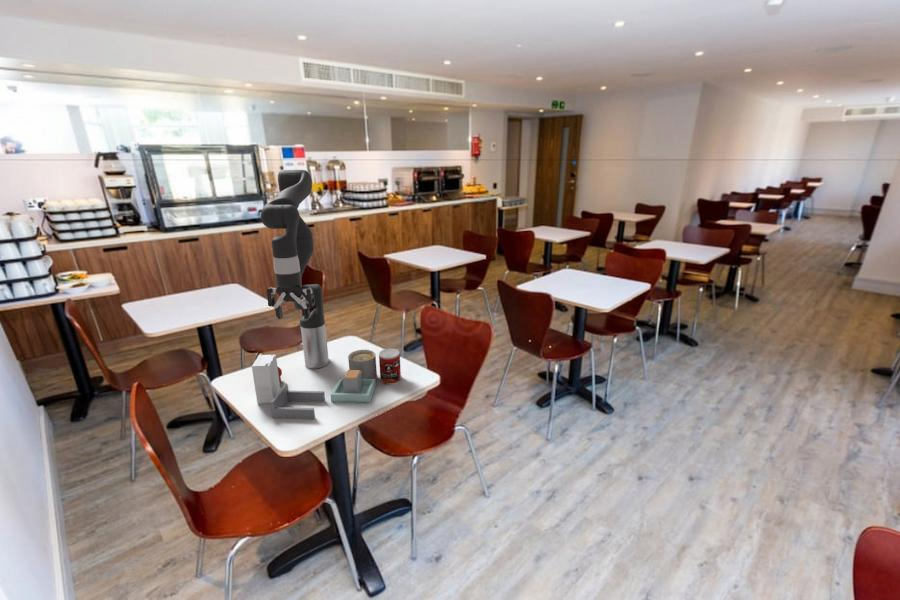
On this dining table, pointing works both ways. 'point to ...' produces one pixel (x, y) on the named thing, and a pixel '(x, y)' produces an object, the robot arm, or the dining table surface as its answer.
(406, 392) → the dining table surface
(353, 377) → the grey block tan panel
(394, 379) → the canned food
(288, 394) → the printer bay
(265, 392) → the skincare box
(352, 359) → the coffee mug
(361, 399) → the tray
